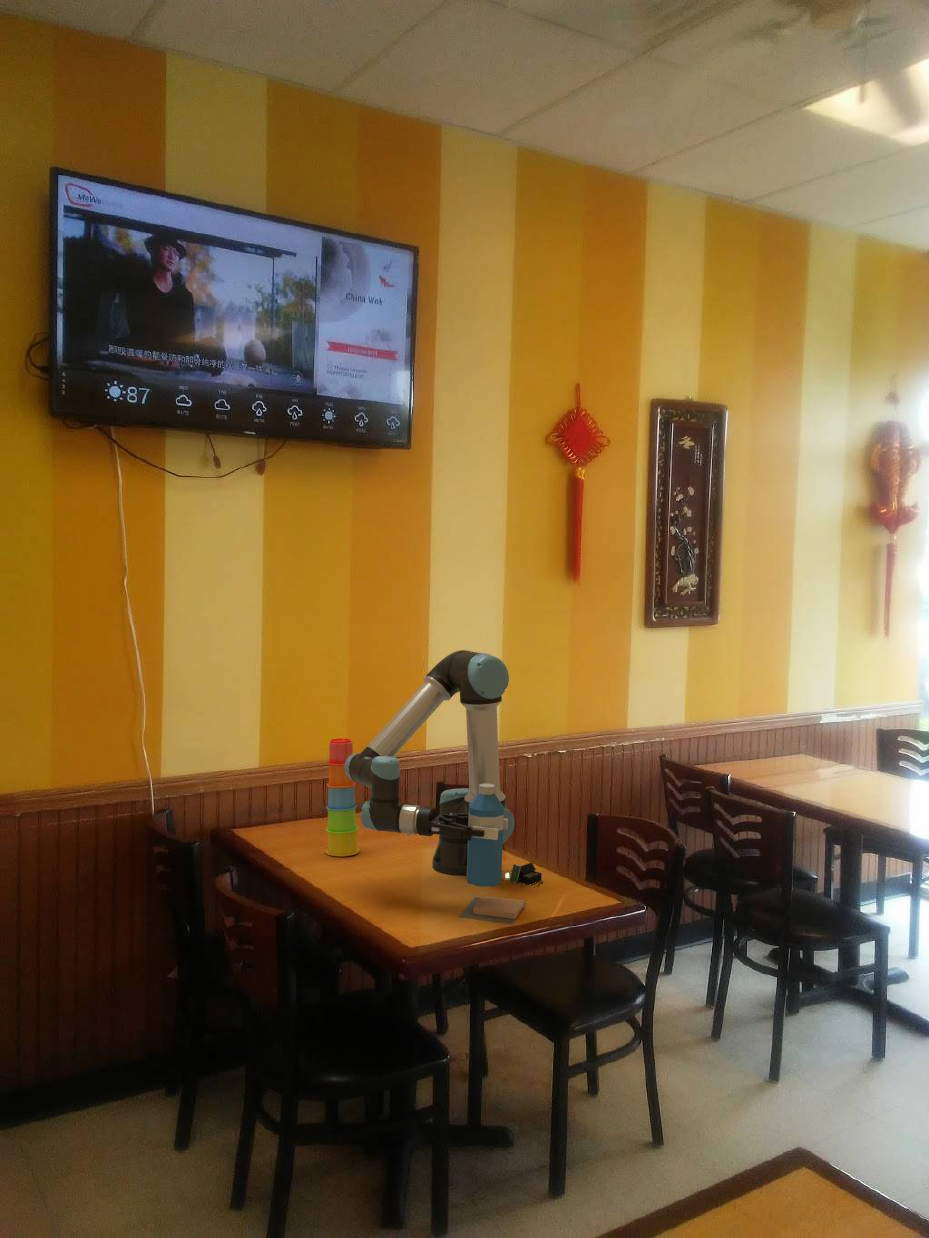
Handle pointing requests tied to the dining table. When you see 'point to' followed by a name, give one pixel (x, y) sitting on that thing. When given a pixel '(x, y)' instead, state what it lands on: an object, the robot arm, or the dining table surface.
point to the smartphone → (524, 874)
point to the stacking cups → (341, 802)
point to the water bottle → (485, 852)
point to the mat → (469, 914)
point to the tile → (498, 907)
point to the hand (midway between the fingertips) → (502, 829)
